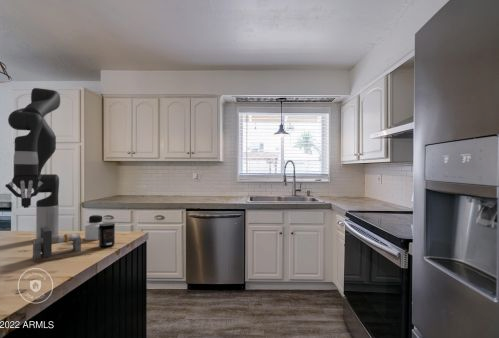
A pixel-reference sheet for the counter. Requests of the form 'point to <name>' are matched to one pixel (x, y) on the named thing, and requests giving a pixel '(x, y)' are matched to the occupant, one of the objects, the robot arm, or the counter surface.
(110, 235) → the supplement container
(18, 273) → the counter surface
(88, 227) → the medicine bottle
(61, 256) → the pipe stand
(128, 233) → the counter surface
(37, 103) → the robot arm
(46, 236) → the collar
